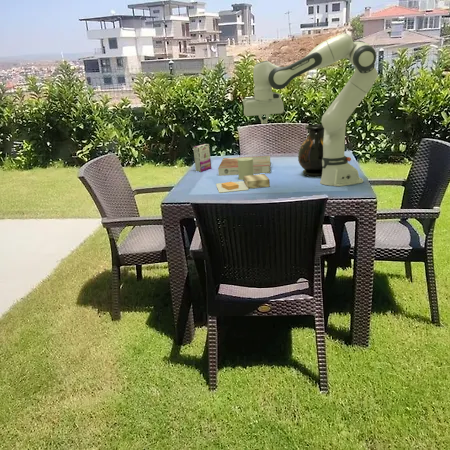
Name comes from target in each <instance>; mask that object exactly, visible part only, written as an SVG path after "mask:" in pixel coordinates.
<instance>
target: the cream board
mask: <svg viewBox="0 0 450 450" xmlns="http://www.w3.org/2000/svg"><path fill="white" fill-rule="evenodd" d="M232 182H233V183H236V184H238V185H239V188H237V189H232V190H228V189H225V188H223V187H222V184H221V183H222V182H219V183H215V186H216V188H217V190H218V194H223V193H225V194H226V193H234V191H235V192H244V191H250V189H248V187H247V186H246V184H245V183H244V180H239V181H238V180H237V181H232Z"/></svg>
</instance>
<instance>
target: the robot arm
mask: <svg viewBox="0 0 450 450" xmlns="http://www.w3.org/2000/svg"><path fill="white" fill-rule="evenodd" d="M344 59H347V60H348V61H349V62H350V64H351V65H352V66H354V67H355V70H354V72H353V75H352V76H351V77H350V78H349V80H347V82H346V84H345V85H344V87H343V88H342V89H341V91H340V92H339V93H338V95H336V97H335V99H334V100H333V101H332V102H331V104H330V105H329V106H328V108H327V109H326V110H325V112H324V113H323V114H322V116H321V124H322V126H323V127H324V138H323V157H322V167H323V170H322V176H320V181H319V183H320V185H325V186H331V187H332V186H334V187H344V186H349V185H358V184H362V183H364V179H363V177H360V173H359V171H358V169H357V168H356V167H354V166H353V165H352V164H350V163H349V162H351V161H352V158H351V157H350V156H346V155H345V152H346V151H345V145H346V144H345V141H346V140H345V139H346V129H347V127H346V125H347V120H348V119H349V118H350V117H351V115H352V114H353V113H354V111H355V110H356V108H357V107H358V106H359V105H360V103H361V102H362V101H363V100H364V98H365V97H366V95H367V94H368V93H369V91H370V90H371V88H372V87H373V85H374V84H375V81H376V80H377V77H378V70H377V68H376V67H375V65H376V61H377V52H376V50H375V48H374V47H373V46H372V45H370V43H367V42H365V41H362V40H353V38H352V36H351V35H349V34H348V33H341V34H338V35H334V36H332V37H330V38H328V39H326V40H324V41H322V42H320V43H319V44H317V45H316V46H315V47H314V48H312V50H311V51H309V53H308V54H307V55H305V56H304V57H302V58H301V59H299V60H297V61H295V62H293V63H292V64H290V65H287V66H279V65H276V64H273V63H272V62H270V61H269V60H264V61H261V62H257V63H255V65H254V67H253V73H252V75H253V79H252V80H253V83H254V88H253V95H254V96H247V97H244V98H243V100H242V105H243V115H244V116H245V117H252V116H258V118H259V120H260V123H261V124H260V125H265V124H268V120H269V118H270V115H277V114H283V113H284V111H285V108H284V107H285V106H284V102H283V100H282V99H281V98H282V94H281V93H278V92H275V91H272V88H273V89H274V90H283V89H285V88H286V87H287V86H288V85H289V84H290V83H291V81H293V80H294V79H295V78H297V77H299V76H302V75H304V74H305V73H306V72H307V73H308V72H309V71H312V70H315V69H321V68H326V67H329V66H331V65H333V64H334V63H335V64H336V62H338V61H341V60H344ZM264 115H265V119H263V116H264Z"/></svg>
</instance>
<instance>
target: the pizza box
mask: <svg viewBox="0 0 450 450" xmlns="http://www.w3.org/2000/svg"><path fill="white" fill-rule="evenodd" d="M240 158H253V173H254V175H259V174H260V173H265V174H271V155H256V156H255V155H254V156H239V157H224V158H222V160H221V162H220V164H219V166H218V168H217V171H218V172H217V173H218V176H219V177H223V176H224V177H225V176H239V172H238V159H240Z"/></svg>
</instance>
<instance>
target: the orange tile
mask: <svg viewBox="0 0 450 450" xmlns="http://www.w3.org/2000/svg"><path fill="white" fill-rule="evenodd" d="M233 182H234V181H227V182H220V183H221V184H222V187H223V188H225V189H228V190H232V189H237V188H239V185H238V184H236V183H233Z"/></svg>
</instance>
